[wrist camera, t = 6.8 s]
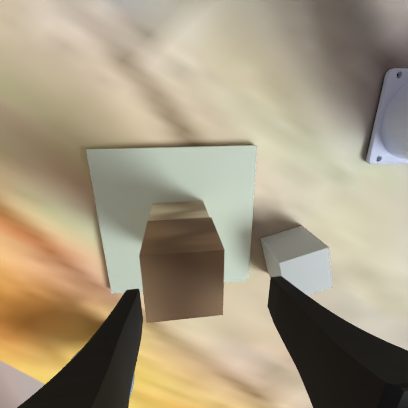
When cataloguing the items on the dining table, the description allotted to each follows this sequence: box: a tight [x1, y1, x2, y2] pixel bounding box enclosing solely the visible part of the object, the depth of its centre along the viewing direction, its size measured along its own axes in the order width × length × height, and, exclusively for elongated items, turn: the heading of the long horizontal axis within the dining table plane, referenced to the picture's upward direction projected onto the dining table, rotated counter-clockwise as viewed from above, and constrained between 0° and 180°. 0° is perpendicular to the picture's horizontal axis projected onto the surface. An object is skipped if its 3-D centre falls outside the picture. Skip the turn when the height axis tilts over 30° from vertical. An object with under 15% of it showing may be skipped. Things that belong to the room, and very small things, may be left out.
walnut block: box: [139, 217, 225, 323], centre depth 15 cm, size 4×4×4 cm
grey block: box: [261, 226, 332, 296], centre depth 23 cm, size 4×4×4 cm
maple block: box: [148, 201, 209, 221], centre depth 19 cm, size 4×4×4 cm
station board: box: [86, 145, 257, 294], centre depth 22 cm, size 14×14×1 cm
